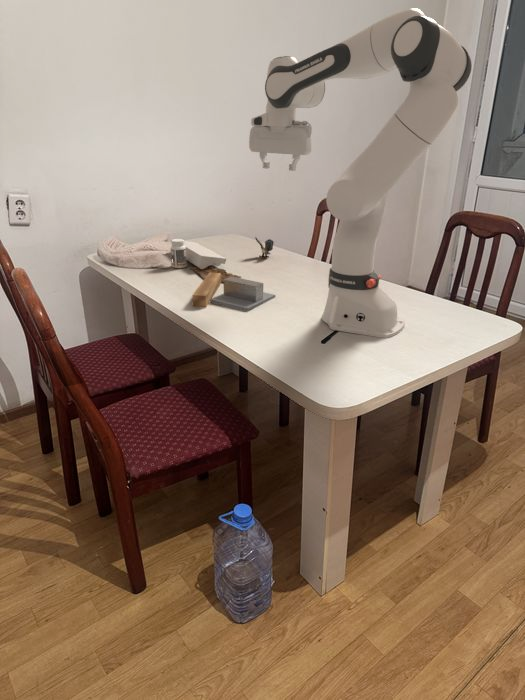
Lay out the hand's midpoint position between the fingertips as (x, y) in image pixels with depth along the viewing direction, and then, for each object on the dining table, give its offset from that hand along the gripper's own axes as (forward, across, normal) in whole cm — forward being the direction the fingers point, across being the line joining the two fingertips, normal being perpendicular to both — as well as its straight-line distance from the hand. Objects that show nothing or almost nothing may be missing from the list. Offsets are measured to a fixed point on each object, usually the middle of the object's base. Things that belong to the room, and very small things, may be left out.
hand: (279, 169), depth 156 cm
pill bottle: (+38, +42, +1) cm, 56 cm away
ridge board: (+37, 0, +19) cm, 42 cm away
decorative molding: (+36, +40, -14) cm, 56 cm away
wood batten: (+38, +12, +21) cm, 45 cm away
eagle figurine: (+37, +22, -27) cm, 51 cm away
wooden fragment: (+39, +22, -1) cm, 45 cm away
